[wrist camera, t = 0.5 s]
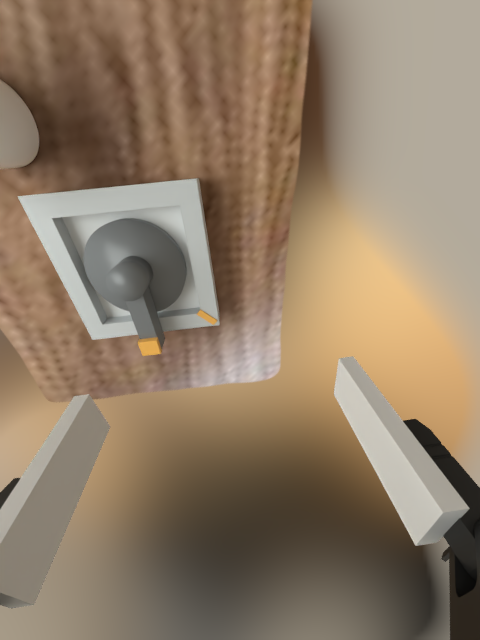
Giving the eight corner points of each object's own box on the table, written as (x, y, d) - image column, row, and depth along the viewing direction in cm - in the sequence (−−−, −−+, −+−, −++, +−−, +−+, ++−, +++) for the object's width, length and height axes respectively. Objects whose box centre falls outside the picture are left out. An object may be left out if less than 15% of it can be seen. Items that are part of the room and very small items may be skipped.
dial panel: (40, 194, 29) (16, 196, 26) (198, 178, 30) (196, 178, 26) (103, 325, 40) (92, 340, 37) (219, 312, 41) (219, 325, 37)
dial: (72, 223, 30) (41, 234, 24) (175, 212, 30) (166, 221, 25) (121, 335, 39) (106, 360, 34) (199, 326, 39) (196, 349, 34)
